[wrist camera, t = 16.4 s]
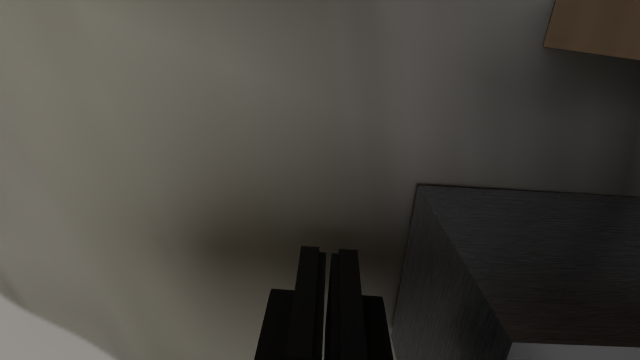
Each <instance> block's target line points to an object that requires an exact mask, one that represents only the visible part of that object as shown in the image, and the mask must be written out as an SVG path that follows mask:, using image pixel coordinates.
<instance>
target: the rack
mask: <svg viewBox="0 0 640 360" xmlns="http://www.w3.org/2000/svg"><path fill="white" fill-rule="evenodd" d="M543 47H549V48H557V49H564V50H571V51H578V52H585V53H592V54H599V55H606V56H613V57H621V58H628V59H635V60H640V0H556V1H555V5H554V8H553V12H552V16H551V19H550V23H549V27H548V30H547V34H546V37H545V41H544V45H543Z"/></svg>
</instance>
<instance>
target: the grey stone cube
mask: <svg viewBox="0 0 640 360" xmlns="http://www.w3.org/2000/svg"><path fill="white" fill-rule="evenodd" d="M391 338H392V342H393V346H394V351H395V355H396V359H397V360H640V197H628V196H609V195H590V194H571V193H552V192H533V191H514V190H495V189H475V188H456V187H437V186H418V188H417V194H416V199H415V205H414V211H413V216H412V222H411V227H410V233H409V239H408V244H407V250H406V255H405V261H404V267H403V272H402V278H401V283H400V289H399V295H398V300H397V306H396V311H395V317H394V323H393V328H392V334H391Z"/></svg>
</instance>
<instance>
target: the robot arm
mask: <svg viewBox="0 0 640 360" xmlns="http://www.w3.org/2000/svg"><path fill="white" fill-rule="evenodd" d="M325 268H326V253H323V252H319V247H307V246H301V252H300V259H299V265H298V272H297V279H296V285H295V290H282V289H271V291H270V295H269V299H268V303H267V308H266V312H265V316H264V320H263V325H262V329H261V333H260V337H259V341H258V346H257V350H256V354H255V358H254V360H322V344H323V319H324V293H325ZM324 360H393V355H392V349H391V343H390V337H389V331H388V325H387V319H386V313H385V308H384V302H383V298H382V297H378V296H365V295H362V294H361V283H360V272H359V262H358V252H357V250H349V249H339V253H338V254H337V253H332V255H331V266H330V278H329V290H328V301H327V313H326V325H325V350H324Z"/></svg>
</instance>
